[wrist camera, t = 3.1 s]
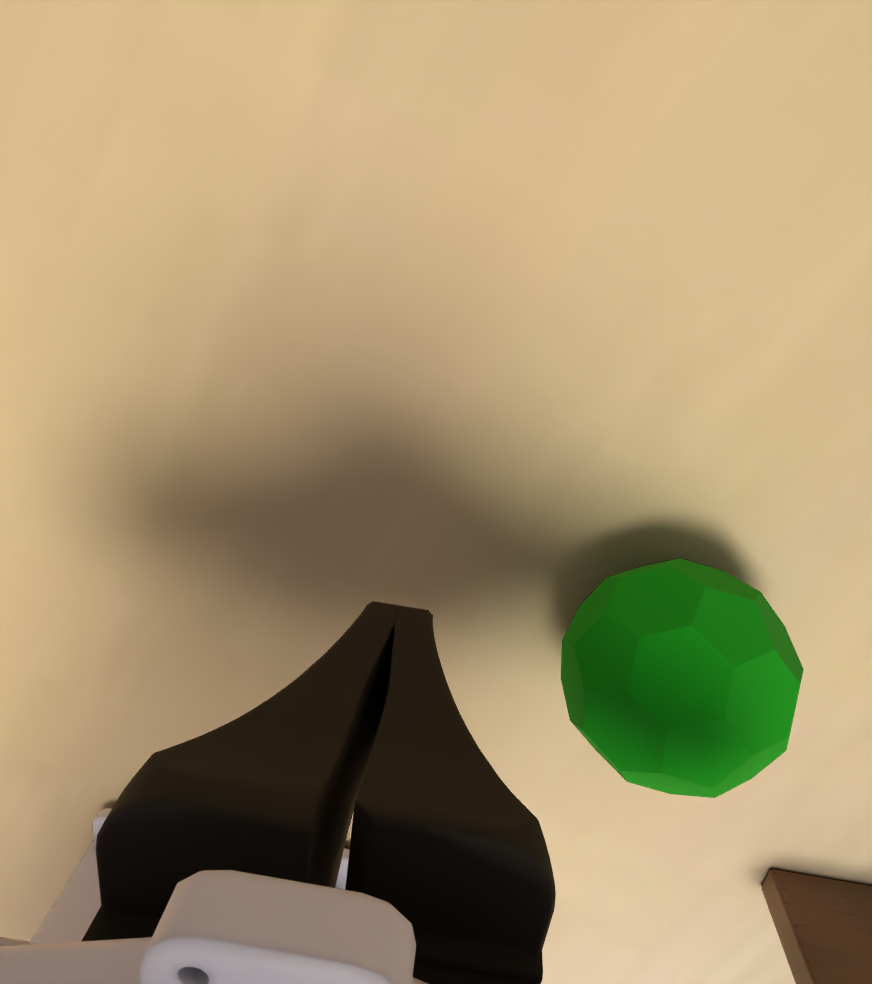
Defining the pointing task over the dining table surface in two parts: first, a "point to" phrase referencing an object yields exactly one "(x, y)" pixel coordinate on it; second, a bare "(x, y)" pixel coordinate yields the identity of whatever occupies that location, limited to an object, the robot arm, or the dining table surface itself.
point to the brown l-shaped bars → (822, 927)
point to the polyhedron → (681, 678)
